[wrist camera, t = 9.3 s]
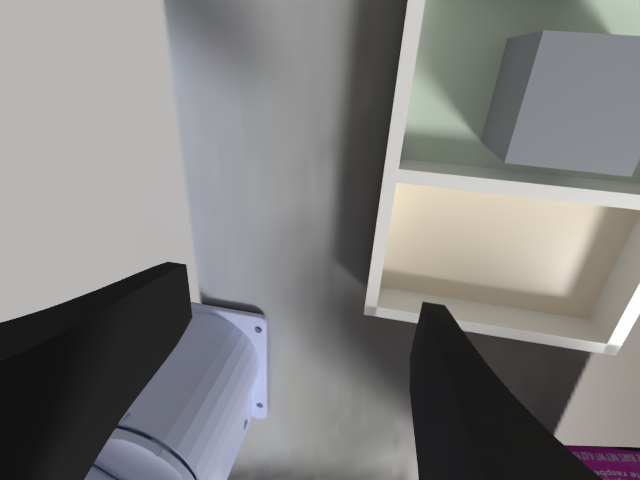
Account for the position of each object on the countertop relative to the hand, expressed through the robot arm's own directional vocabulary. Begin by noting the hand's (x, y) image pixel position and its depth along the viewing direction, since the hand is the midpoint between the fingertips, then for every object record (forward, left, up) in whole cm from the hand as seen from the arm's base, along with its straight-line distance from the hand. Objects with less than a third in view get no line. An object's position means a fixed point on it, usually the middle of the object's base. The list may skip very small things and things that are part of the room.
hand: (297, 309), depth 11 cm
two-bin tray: (+2, -8, -9) cm, 13 cm away
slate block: (+6, -8, -9) cm, 13 cm away
